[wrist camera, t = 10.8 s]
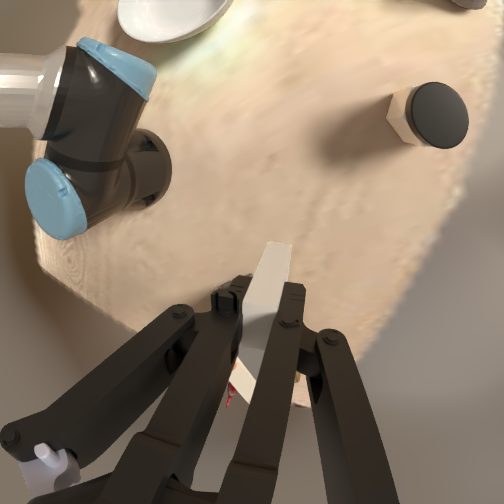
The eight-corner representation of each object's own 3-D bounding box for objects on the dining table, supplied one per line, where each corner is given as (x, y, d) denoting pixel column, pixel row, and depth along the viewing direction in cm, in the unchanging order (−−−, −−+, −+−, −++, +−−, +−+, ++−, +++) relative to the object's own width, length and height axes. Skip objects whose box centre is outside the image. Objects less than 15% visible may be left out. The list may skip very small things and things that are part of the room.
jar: (425, 153, 36) (457, 164, 25) (380, 130, 37) (401, 133, 26) (440, 103, 32) (476, 100, 21) (396, 80, 32) (421, 66, 22)
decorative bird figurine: (253, 351, 61) (242, 384, 52) (237, 391, 69) (227, 421, 60) (241, 346, 61) (228, 379, 52) (227, 388, 69) (216, 417, 61)
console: (275, 360, 61) (259, 422, 46) (224, 283, 55) (190, 341, 40) (299, 355, 58) (288, 419, 44) (251, 273, 52) (222, 333, 37)
